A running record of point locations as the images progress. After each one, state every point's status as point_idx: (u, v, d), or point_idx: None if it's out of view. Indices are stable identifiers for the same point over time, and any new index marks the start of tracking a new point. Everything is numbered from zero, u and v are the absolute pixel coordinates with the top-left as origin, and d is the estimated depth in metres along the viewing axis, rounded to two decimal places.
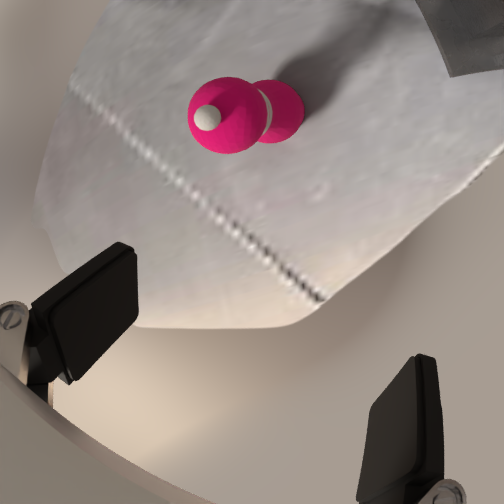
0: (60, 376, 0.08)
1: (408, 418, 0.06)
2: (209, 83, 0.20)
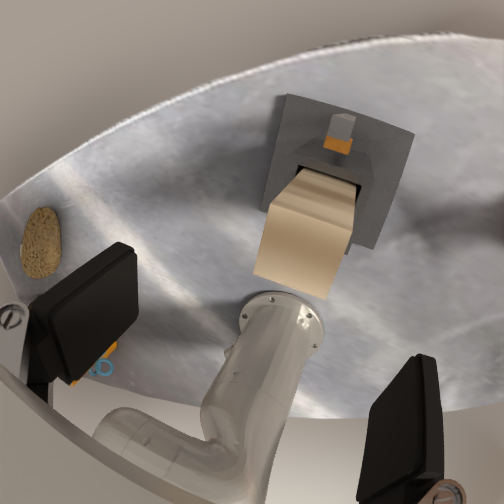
0: (60, 376, 0.08)
1: (408, 418, 0.06)
2: None
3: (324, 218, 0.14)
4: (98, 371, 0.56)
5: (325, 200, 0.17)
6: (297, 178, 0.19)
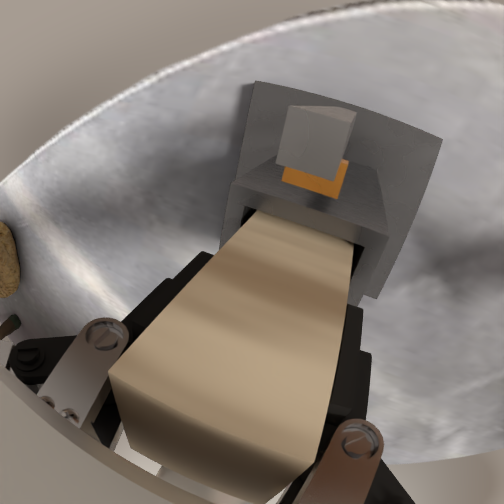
0: None
1: None
2: None
3: (243, 415, 0.05)
4: None
5: (272, 320, 0.07)
6: (231, 245, 0.10)
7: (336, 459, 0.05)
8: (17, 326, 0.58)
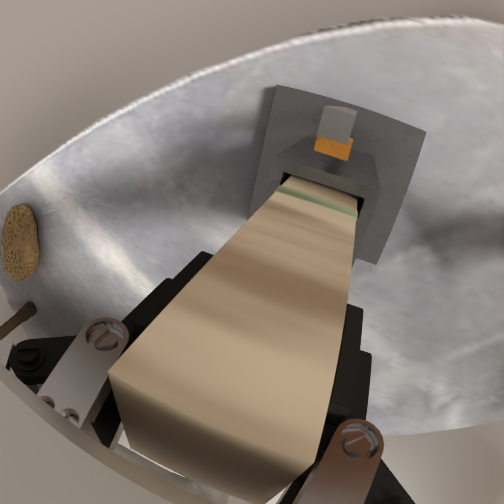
0: None
1: None
2: None
3: (243, 415, 0.05)
4: None
5: (272, 320, 0.07)
6: (231, 244, 0.10)
7: (336, 459, 0.05)
8: (33, 313, 0.63)
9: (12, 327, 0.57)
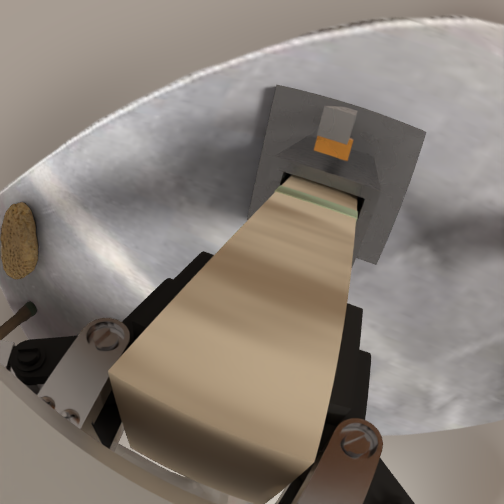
0: None
1: None
2: None
3: (244, 415, 0.05)
4: None
5: (272, 320, 0.07)
6: (231, 244, 0.10)
7: (335, 459, 0.05)
8: (33, 313, 0.63)
9: (12, 327, 0.57)
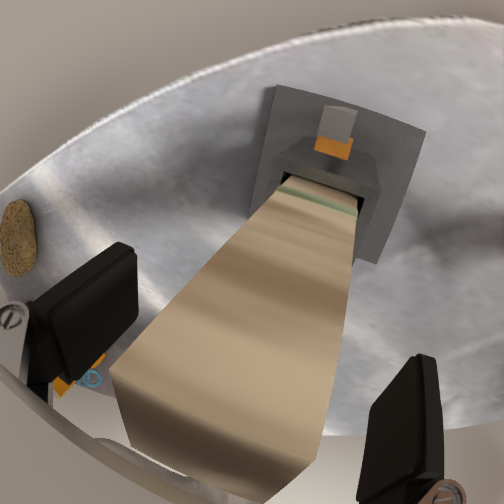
0: (60, 377, 0.08)
1: (408, 418, 0.06)
2: None
3: (244, 413, 0.05)
4: (86, 382, 0.52)
5: (273, 318, 0.07)
6: (231, 243, 0.10)
7: None
8: None
9: None
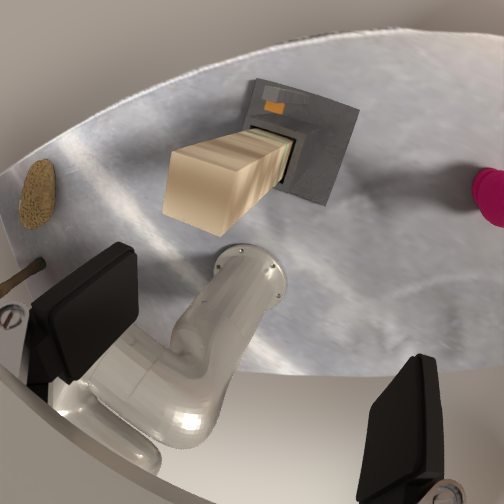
0: (60, 376, 0.08)
1: (408, 418, 0.06)
2: None
3: (215, 162, 0.17)
4: None
5: (229, 153, 0.19)
6: (217, 139, 0.21)
7: None
8: (42, 267, 0.74)
9: (23, 278, 0.67)
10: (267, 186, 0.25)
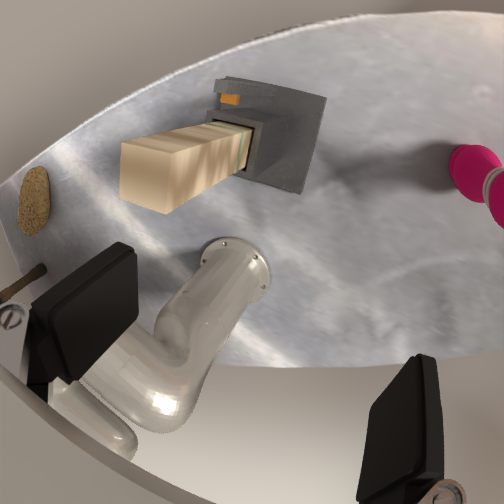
0: (60, 377, 0.08)
1: (408, 418, 0.06)
2: None
3: (156, 147, 0.18)
4: None
5: (175, 140, 0.20)
6: (170, 131, 0.23)
7: None
8: (43, 273, 0.76)
9: (25, 283, 0.70)
10: (224, 172, 0.27)
